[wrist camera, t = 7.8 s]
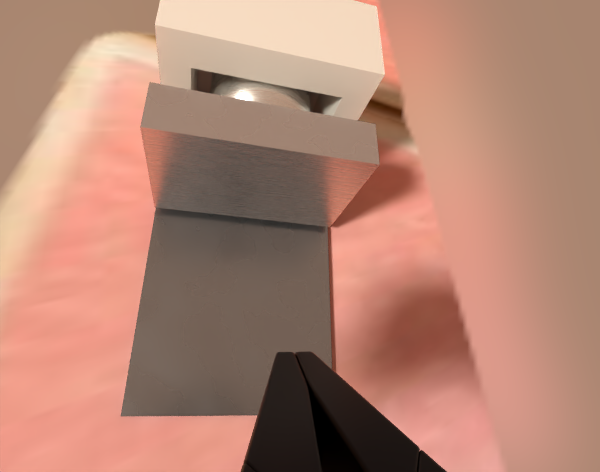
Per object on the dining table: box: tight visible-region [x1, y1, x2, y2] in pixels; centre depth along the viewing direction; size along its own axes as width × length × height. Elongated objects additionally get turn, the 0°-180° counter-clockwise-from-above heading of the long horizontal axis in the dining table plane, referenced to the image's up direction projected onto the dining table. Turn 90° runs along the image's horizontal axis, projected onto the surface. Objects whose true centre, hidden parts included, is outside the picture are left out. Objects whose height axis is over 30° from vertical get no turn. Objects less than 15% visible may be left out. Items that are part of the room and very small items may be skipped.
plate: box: [121, 208, 332, 416], centre depth 23 cm, size 16×11×1 cm
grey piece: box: [140, 72, 380, 227], centre depth 22 cm, size 8×11×8 cm
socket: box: [155, 0, 385, 121], centre depth 23 cm, size 5×11×10 cm, turn 90°
